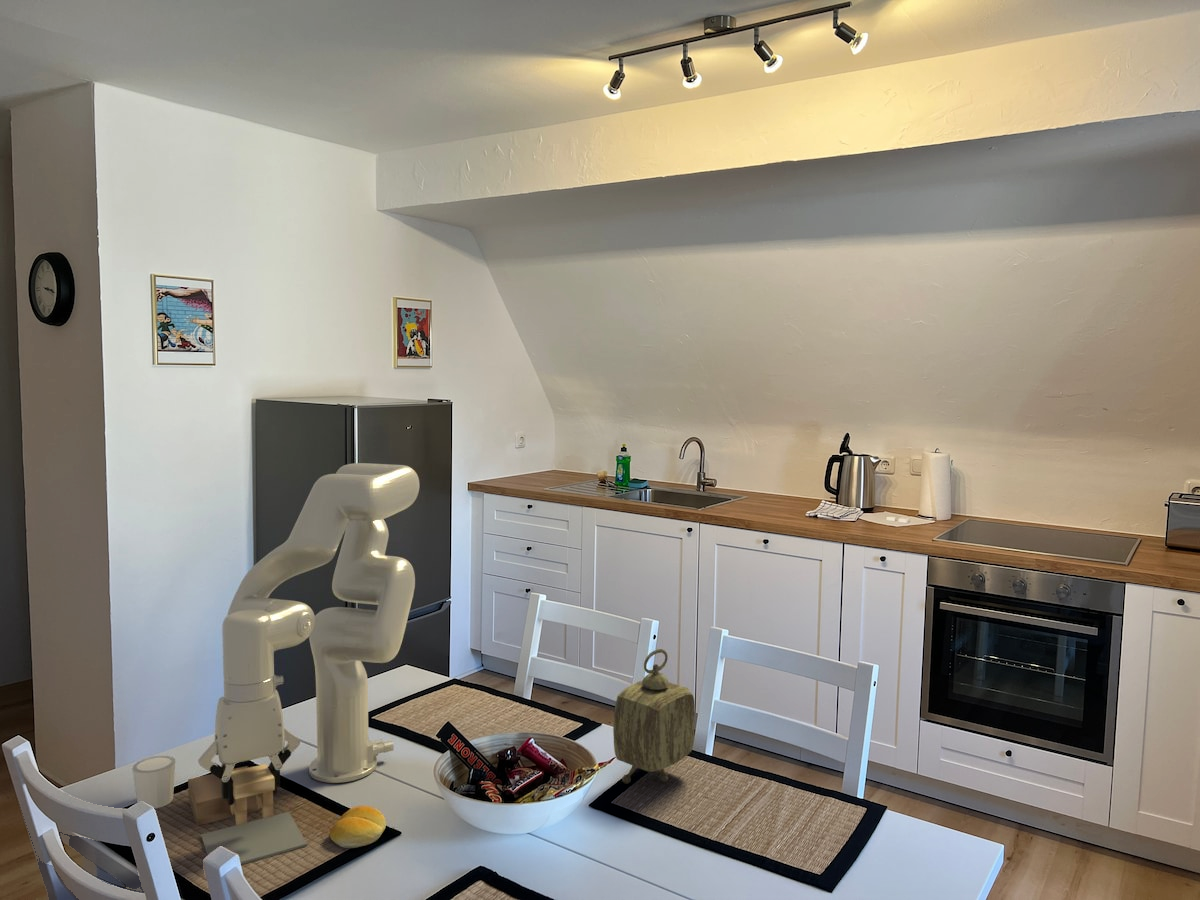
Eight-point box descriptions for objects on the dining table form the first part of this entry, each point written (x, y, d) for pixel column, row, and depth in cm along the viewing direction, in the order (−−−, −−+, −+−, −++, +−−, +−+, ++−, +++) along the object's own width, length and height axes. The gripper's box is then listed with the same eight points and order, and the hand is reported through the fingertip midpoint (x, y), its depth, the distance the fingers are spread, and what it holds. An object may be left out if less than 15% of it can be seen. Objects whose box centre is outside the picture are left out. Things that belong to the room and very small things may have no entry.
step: (248, 786, 160) (247, 765, 159) (259, 810, 151) (259, 788, 151) (188, 800, 154) (188, 779, 154) (197, 825, 146) (196, 803, 145)
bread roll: (322, 847, 140) (321, 824, 140) (348, 819, 149) (347, 797, 148) (370, 853, 138) (369, 829, 138) (393, 824, 147) (393, 802, 147)
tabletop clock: (659, 758, 173) (661, 636, 170) (696, 773, 167) (699, 646, 164) (612, 784, 162) (614, 654, 160) (650, 800, 156) (653, 665, 154)
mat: (289, 813, 150) (288, 811, 150) (307, 846, 140) (306, 843, 140) (201, 836, 142) (201, 834, 142) (213, 872, 132) (213, 870, 132)
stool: (267, 801, 145) (266, 763, 144) (275, 816, 140) (274, 778, 139) (228, 810, 141) (227, 772, 141) (235, 826, 136) (234, 787, 136)
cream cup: (159, 813, 150) (157, 774, 149) (124, 808, 151) (123, 770, 151) (185, 794, 157) (184, 756, 156) (152, 790, 158) (150, 753, 157)
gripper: (298, 672, 147) (300, 774, 148) (186, 691, 137) (189, 800, 139) (310, 685, 140) (311, 792, 142) (194, 706, 131) (197, 820, 132)
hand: (251, 795), depth 140 cm, fingers closed on stool, 6 cm apart
